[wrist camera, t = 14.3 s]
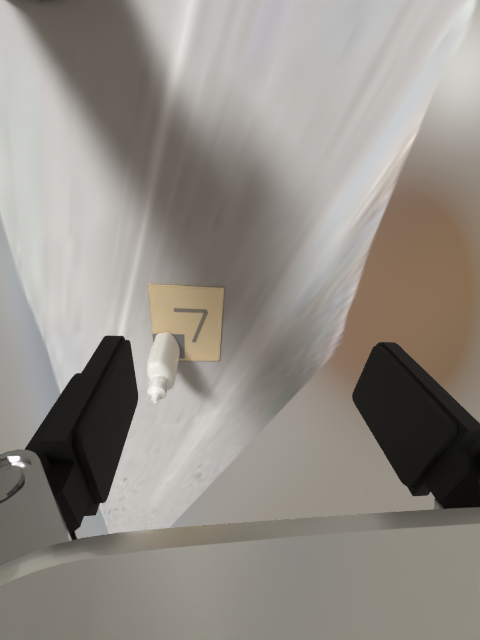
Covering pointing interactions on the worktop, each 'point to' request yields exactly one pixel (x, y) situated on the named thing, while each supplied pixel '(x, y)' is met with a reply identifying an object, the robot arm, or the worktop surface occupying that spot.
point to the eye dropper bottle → (162, 365)
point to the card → (189, 318)
